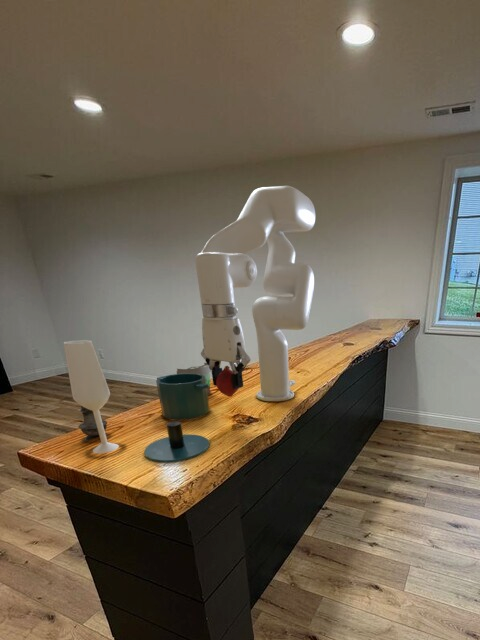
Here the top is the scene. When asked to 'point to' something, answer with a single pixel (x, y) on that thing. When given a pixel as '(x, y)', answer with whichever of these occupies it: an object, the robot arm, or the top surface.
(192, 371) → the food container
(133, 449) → the top surface
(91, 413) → the grey lumpy figure
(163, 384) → the pot
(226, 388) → the onion
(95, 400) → the champagne flute
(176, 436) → the lid
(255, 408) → the top surface
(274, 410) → the top surface
